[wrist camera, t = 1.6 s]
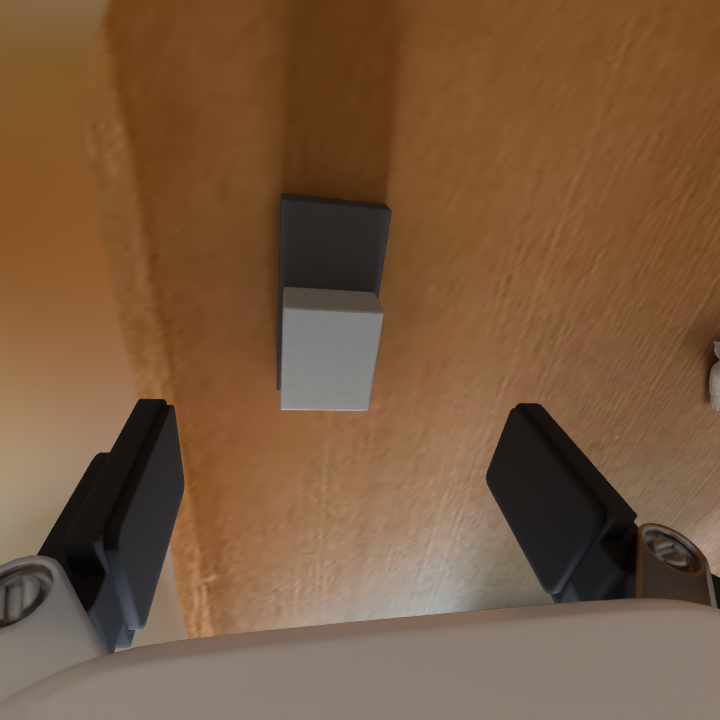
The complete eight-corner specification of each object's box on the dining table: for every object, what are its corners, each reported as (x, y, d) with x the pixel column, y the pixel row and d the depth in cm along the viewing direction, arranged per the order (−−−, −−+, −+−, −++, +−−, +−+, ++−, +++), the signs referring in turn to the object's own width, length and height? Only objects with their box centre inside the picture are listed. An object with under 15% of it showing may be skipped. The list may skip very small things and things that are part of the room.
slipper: (281, 193, 16) (279, 210, 14) (386, 204, 17) (405, 222, 14) (277, 377, 21) (275, 419, 18) (360, 379, 22) (371, 419, 19)
